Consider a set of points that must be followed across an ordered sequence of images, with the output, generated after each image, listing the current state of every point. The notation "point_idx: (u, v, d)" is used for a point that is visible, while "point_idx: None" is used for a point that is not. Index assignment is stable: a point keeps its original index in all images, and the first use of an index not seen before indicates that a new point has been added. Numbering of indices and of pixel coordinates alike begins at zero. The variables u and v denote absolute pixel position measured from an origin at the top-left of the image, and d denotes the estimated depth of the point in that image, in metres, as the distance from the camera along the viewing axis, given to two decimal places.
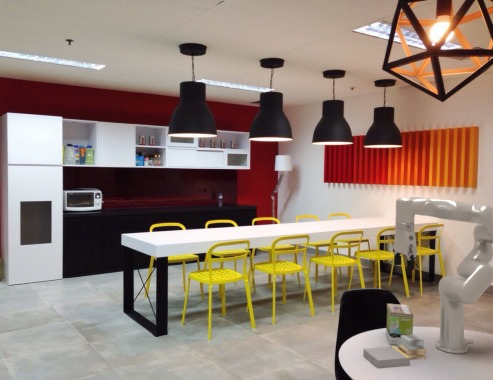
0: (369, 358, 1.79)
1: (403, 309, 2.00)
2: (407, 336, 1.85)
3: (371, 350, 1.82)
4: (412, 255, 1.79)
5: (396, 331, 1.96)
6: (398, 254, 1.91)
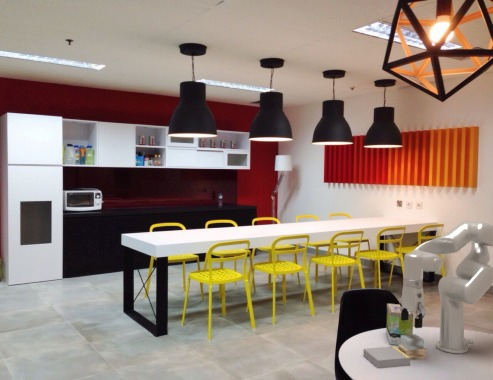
0: (369, 358, 1.79)
1: None
2: (407, 336, 1.85)
3: (371, 350, 1.82)
4: (420, 314, 1.76)
5: (396, 331, 1.96)
6: (405, 309, 1.88)
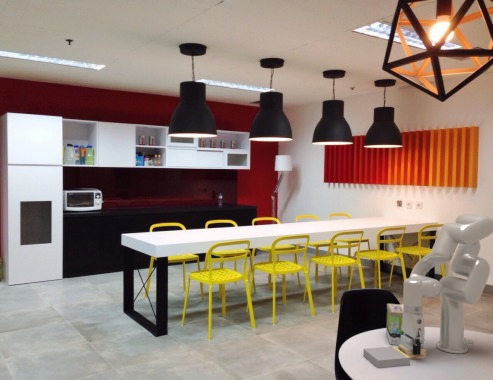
0: (369, 358, 1.79)
1: None
2: (407, 336, 1.85)
3: (371, 350, 1.82)
4: (418, 341, 1.78)
5: (396, 331, 1.96)
6: None
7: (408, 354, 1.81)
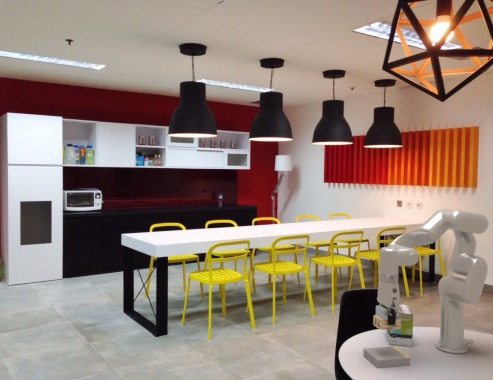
0: (369, 358, 1.79)
1: (403, 309, 2.00)
2: (382, 306, 1.80)
3: (371, 350, 1.82)
4: (393, 310, 1.73)
5: (396, 331, 1.96)
6: None
7: (383, 324, 1.75)
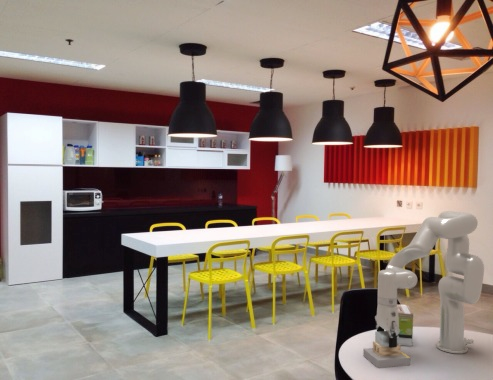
0: (369, 358, 1.79)
1: (403, 309, 2.00)
2: (382, 332, 1.80)
3: (371, 350, 1.82)
4: (394, 333, 1.72)
5: None
6: (381, 327, 1.84)
7: (382, 351, 1.76)
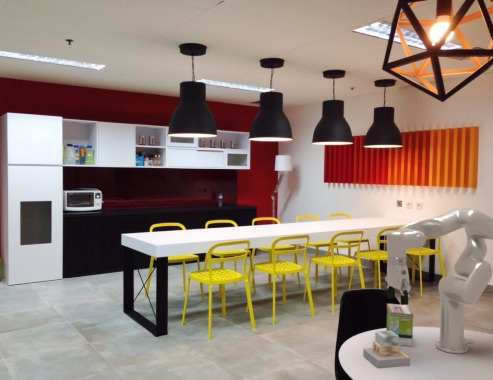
0: (369, 358, 1.79)
1: (403, 309, 2.00)
2: (382, 332, 1.80)
3: (371, 350, 1.82)
4: (405, 290, 1.77)
5: (396, 331, 1.96)
6: (391, 287, 1.89)
7: (382, 351, 1.76)
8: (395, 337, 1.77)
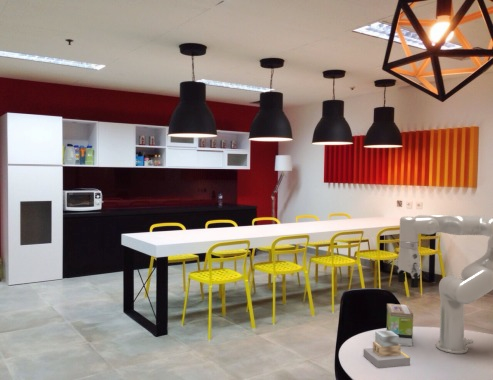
0: (369, 358, 1.79)
1: (403, 309, 2.00)
2: (382, 332, 1.80)
3: (371, 350, 1.82)
4: (416, 273, 1.83)
5: (396, 331, 1.96)
6: (402, 271, 1.95)
7: (382, 351, 1.76)
8: (395, 337, 1.77)
